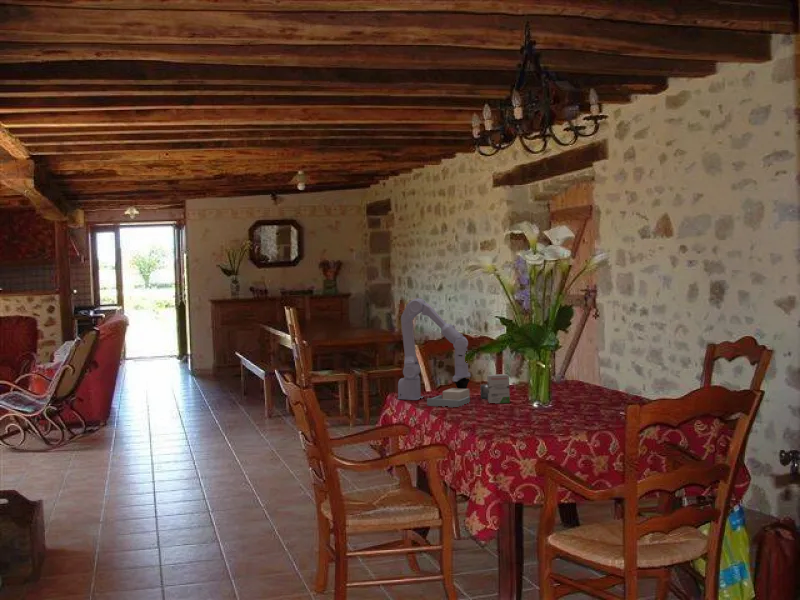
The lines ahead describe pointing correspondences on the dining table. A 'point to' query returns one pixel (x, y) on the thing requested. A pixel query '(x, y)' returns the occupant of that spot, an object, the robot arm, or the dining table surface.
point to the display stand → (446, 402)
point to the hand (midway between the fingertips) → (462, 395)
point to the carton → (456, 393)
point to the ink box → (498, 388)
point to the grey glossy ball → (484, 391)
